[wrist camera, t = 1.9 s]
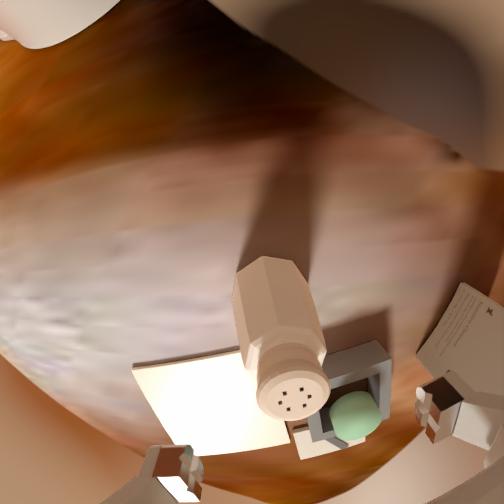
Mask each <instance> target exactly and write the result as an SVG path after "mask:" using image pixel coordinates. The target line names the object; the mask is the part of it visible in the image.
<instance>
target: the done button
mask: <svg viewBox="0 0 504 504" xmlns="http://www.w3.org/2000/svg"><path fill="white" fill-rule="evenodd" d="M329 416H330V419H331V422H332V425H333V427H334V430H335V433H336V436H337V437H338V438H339V439H341V440H346V441H351V440H357V439H360V438H362V437H365V436H366V435H368V434H370V433H371V432H373V431H374V430H375V429H376V428H377V427H378V425H379V424H380V422H381V419H382V414H381V412H380V410H379V409H378V407H377V405H376V403H375V401H374V399H373V398H372V396H371V395H370V394H369V393H367V392H365V391H355V392H351V393H348V394H346V395H344V396H342V397H341V398H339V399H338V400H337V401H336V402H335V403H334V404H333V405H332V407H331V409H330V412H329Z"/></svg>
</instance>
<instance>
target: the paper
mask: <svg viewBox="0 0 504 504" xmlns="http://www.w3.org/2000/svg"><path fill="white" fill-rule="evenodd" d="M131 371H132V373H133V375H134V377H135V379H136V381H137V382H138V384H139V386H140V388H141V390H142V391H143V393H144V395H145V397H146V398H147V400H148V402H149V404H150V405H151V407H152V409H153V410H154V412H155V414H156V415H157V417H158V419H159V420H160V422H161V423H162V425H163V426H164V428H165V430H166V431H167V433H168V434H169V436H170V437H171V439H172V440H173V442H174V443H175V445H185V444H188V445H191V447H192V448H193V449H194V453H193V455H195V456H204V455H215V454H225V453H233V452H241V451H248V450H254V449H260V448H266V447H271V446H277V445H281V444H286V443H290V438H289V435H288V432H287V428H286V425H285V422H284V421H282V420H278V419H274V418H272V417H270V416H268V415H266V414H265V413H264V412H263V411H262V410H260V408H259V406H258V404H257V401H256V391H257V382H256V381H255V380H254V379H253V377H252V376H251V375H250V374H249V373H248V372H247V371H246V370H245V368H244V364H243V361H242V356H241V351H240V350H236V351H231V352H226V353H221V354H216V355H211V356H205V357H200V358H194V359H188V360H182V361H176V362H170V363H163V364H156V365H149V366H141V367H133V368H132V369H131Z"/></svg>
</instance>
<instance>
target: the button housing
mask: <svg viewBox="0 0 504 504" xmlns="http://www.w3.org/2000/svg"><path fill="white" fill-rule="evenodd" d="M321 367H322V369H323V372H324V373H325V374H326V376H327V377H328V379H329V382H330V385H331V389H333V388H337V387H340V386H343V385H346V384H349V383H352V382H355V381H359V380H361V379H364V378H368V393H369V394H370V395H371V396H372V398H373V399H374V401H375V403H376V405H377V407H378V409H379V410H380V412H381V414H382V419H381V421H383V420H385V419H388V418H389V414H390V398H391V368H392V358H391V357H390V356H389V355H388V353H387V352H386V351H385V349H384V348H383V347H382V346H381V344H380V343H379V342H378V341H377V339H376V340H373V341H370V342H367V343H364V344H361V345H358V346H355V347H352V348H349V349H346V350H342V351H339V352H336V353H333V354H329V355H326V356H325V358H324V360H323V363H322V366H321ZM331 407H332V406H329V407H326V408H322V409H319V410H318V411H317V412H316V413H314V414H312V415H310V416H308V417H306V419H307V423H308V427H309V431H310V435H311V439H312V443H313V442H317V441H321V440H325V439H328V438H332V437H335V436H336V433H335V430H334V427H333V425H332V422H331V419H330V416H329V412H330V409H331Z"/></svg>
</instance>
